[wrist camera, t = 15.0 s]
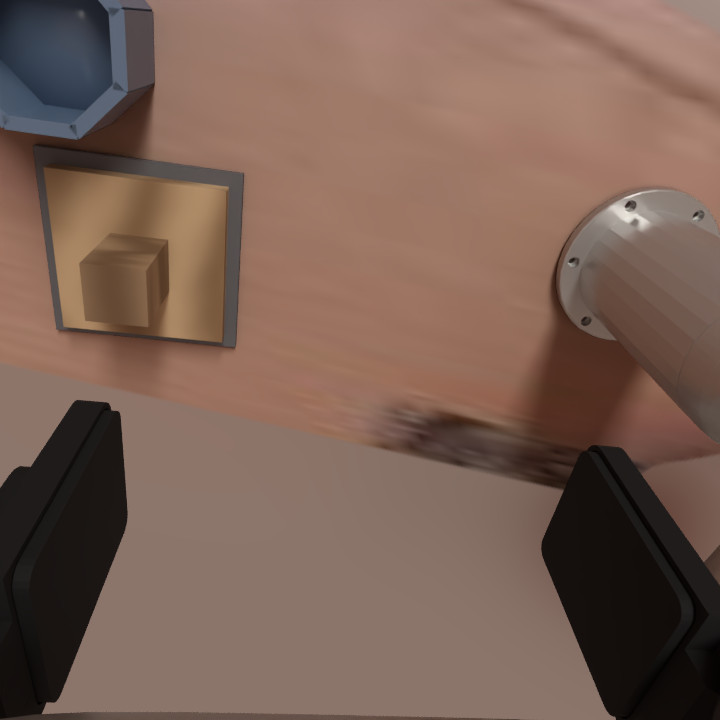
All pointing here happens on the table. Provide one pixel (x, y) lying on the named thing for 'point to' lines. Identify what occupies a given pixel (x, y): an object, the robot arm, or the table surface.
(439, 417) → the table surface
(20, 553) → the robot arm
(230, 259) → the charcoal mat
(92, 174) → the oak lid
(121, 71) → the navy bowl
